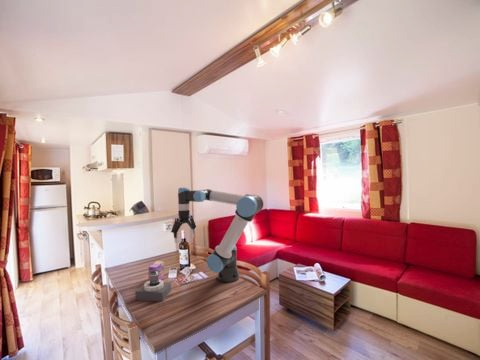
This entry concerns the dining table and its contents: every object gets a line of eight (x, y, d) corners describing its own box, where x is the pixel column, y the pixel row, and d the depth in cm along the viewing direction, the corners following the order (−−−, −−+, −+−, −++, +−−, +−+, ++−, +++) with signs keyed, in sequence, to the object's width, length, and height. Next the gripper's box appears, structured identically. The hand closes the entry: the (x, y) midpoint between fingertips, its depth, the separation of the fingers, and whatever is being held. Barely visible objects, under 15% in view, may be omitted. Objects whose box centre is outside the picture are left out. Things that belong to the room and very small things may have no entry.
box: (156, 285, 148) (156, 267, 148) (148, 284, 149) (148, 266, 149) (164, 278, 158) (164, 261, 158) (157, 277, 159) (156, 260, 159)
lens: (155, 284, 139) (155, 269, 139) (160, 286, 136) (160, 270, 136) (147, 287, 135) (147, 271, 135) (152, 289, 131) (152, 273, 131)
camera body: (171, 290, 140) (170, 279, 140) (162, 301, 128) (162, 288, 128) (146, 289, 142) (146, 278, 142) (135, 300, 130) (135, 287, 130)
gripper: (193, 207, 169) (194, 235, 169) (165, 211, 148) (165, 243, 149) (200, 208, 164) (201, 237, 165) (172, 212, 144) (173, 245, 144)
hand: (184, 240), depth 157 cm, fingers open, 13 cm apart
